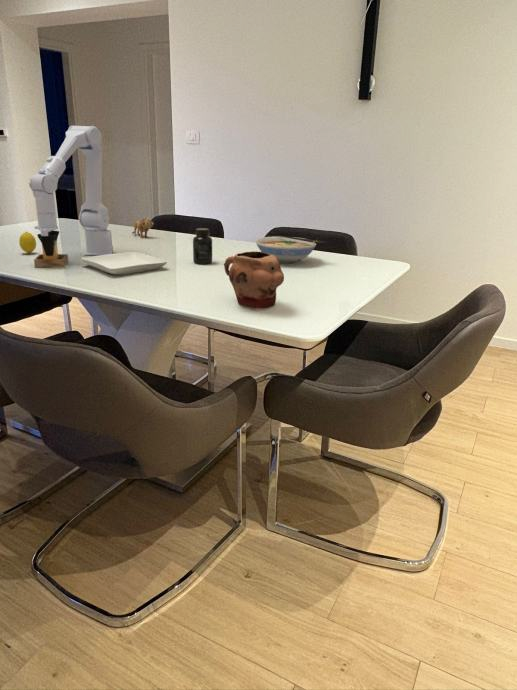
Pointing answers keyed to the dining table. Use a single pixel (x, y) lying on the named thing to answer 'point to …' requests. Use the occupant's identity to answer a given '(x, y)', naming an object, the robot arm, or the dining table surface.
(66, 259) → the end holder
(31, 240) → the lemon
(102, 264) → the salad plate
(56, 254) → the honey jar
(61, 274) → the dining table surface
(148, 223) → the lion figurine
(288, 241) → the ramen bowl
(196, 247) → the supplement bottle
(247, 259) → the decorative planter
